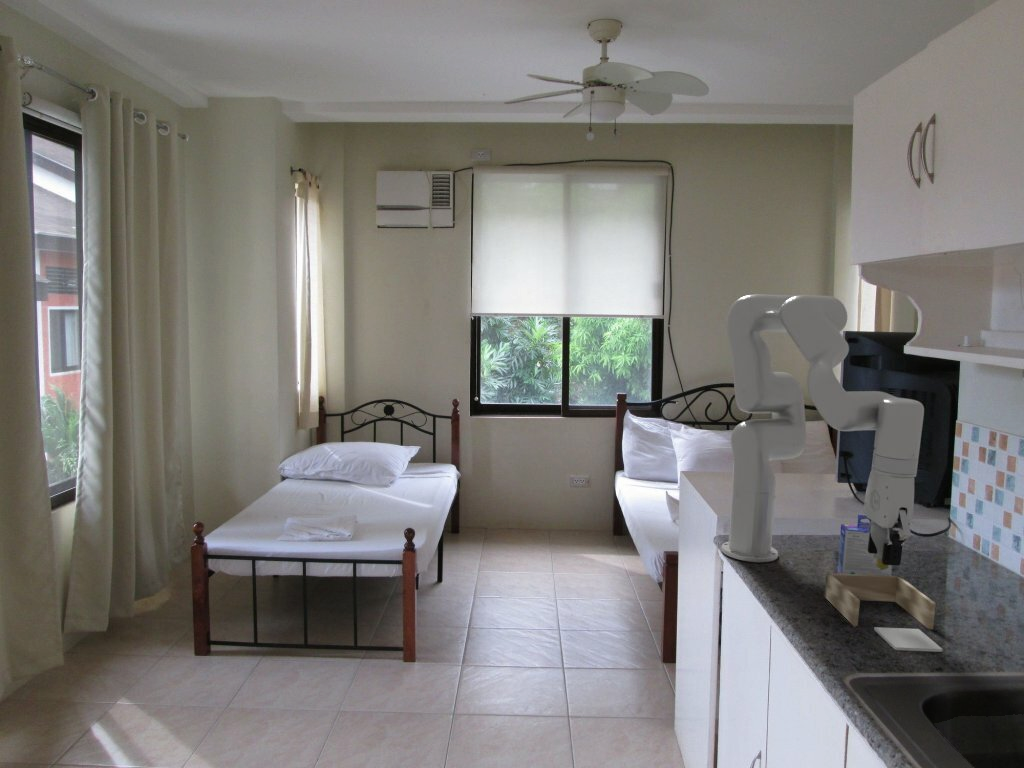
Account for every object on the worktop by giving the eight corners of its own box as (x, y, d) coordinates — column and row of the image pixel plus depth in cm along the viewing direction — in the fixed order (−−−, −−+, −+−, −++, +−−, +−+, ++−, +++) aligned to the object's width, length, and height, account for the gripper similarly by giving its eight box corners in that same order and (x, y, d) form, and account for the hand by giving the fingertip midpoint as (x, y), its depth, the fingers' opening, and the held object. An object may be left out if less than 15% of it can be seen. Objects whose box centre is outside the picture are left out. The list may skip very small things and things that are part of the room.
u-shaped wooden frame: (824, 597, 156) (826, 573, 155) (897, 600, 156) (899, 576, 155) (853, 626, 142) (855, 600, 142) (933, 629, 142) (935, 603, 142)
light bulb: (883, 576, 143) (889, 524, 142) (859, 565, 148) (865, 515, 147) (904, 573, 145) (911, 521, 144) (880, 562, 150) (886, 512, 149)
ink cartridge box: (884, 582, 166) (890, 516, 164) (891, 591, 160) (898, 523, 158) (835, 577, 168) (840, 512, 166) (840, 586, 162) (846, 519, 160)
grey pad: (874, 629, 141) (874, 627, 141) (918, 631, 141) (918, 628, 141) (895, 650, 133) (895, 647, 133) (942, 651, 133) (942, 649, 133)
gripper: (854, 453, 152) (844, 542, 155) (896, 475, 135) (884, 575, 138) (892, 455, 152) (882, 544, 155) (939, 477, 135) (926, 577, 138)
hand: (883, 557), depth 146 cm, fingers closed on light bulb, 5 cm apart
